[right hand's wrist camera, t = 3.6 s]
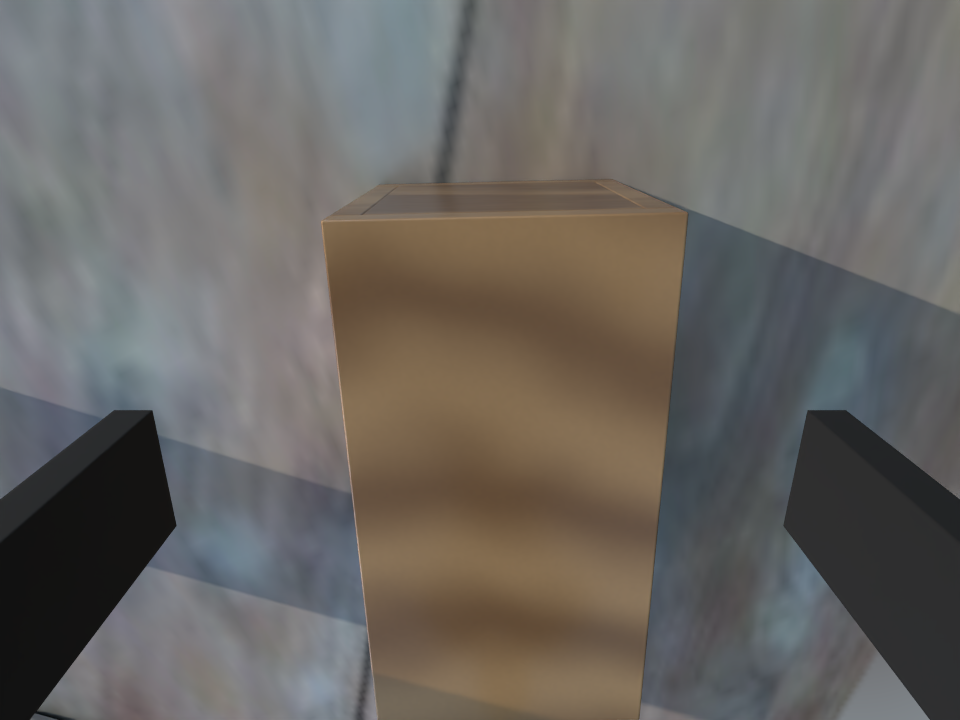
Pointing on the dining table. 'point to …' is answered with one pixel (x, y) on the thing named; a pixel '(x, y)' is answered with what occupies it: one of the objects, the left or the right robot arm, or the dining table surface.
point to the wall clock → (41, 717)
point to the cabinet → (506, 438)
